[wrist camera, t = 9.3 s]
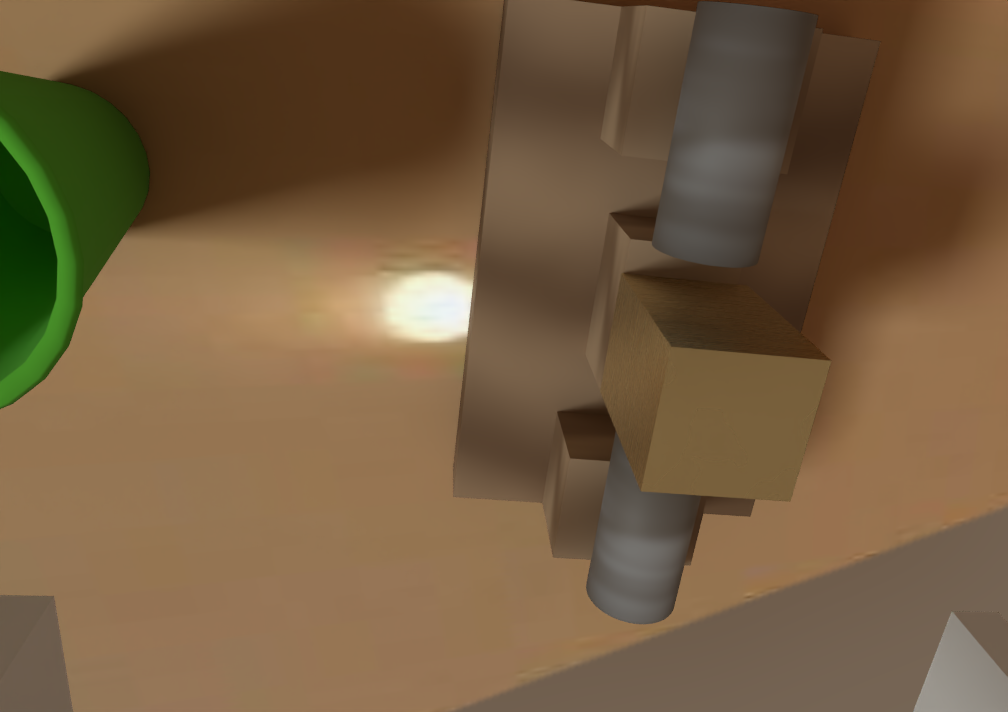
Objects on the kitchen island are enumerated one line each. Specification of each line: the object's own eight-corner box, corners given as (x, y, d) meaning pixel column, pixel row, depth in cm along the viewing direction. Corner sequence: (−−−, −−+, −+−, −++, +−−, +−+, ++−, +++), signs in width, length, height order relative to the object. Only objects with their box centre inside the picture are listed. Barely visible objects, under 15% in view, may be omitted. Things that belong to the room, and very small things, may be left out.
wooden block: (621, 272, 25) (671, 346, 19) (747, 284, 25) (831, 360, 20) (600, 391, 26) (640, 491, 21) (719, 401, 27) (790, 501, 21)
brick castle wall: (505, -14, 27) (530, -26, 19) (853, 33, 28) (1012, 39, 20) (452, 474, 33) (454, 614, 26) (733, 493, 35) (816, 633, 27)
